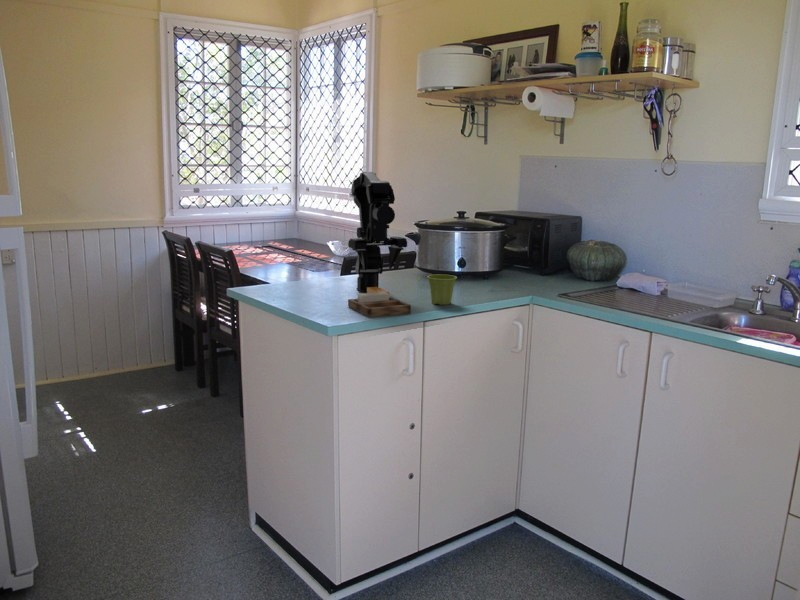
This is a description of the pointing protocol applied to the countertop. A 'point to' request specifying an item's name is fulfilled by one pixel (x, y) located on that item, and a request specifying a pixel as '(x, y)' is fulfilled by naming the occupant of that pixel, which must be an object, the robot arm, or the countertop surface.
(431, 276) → the plant pot
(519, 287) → the countertop surface
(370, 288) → the tall amber prism
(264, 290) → the countertop surface
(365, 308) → the slot board
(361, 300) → the off-white square pillar
